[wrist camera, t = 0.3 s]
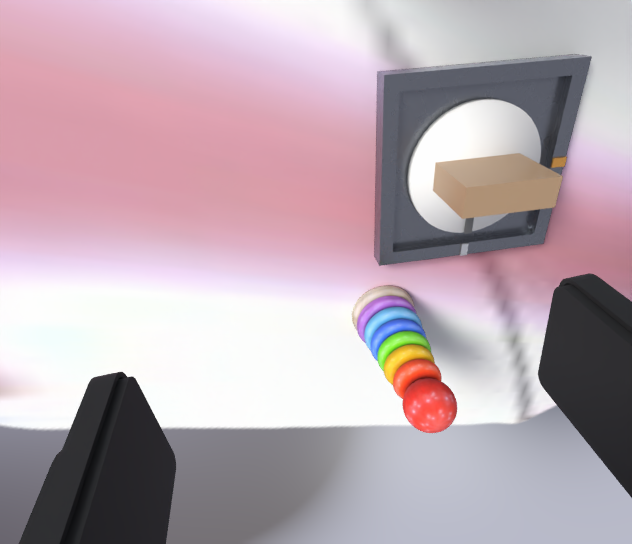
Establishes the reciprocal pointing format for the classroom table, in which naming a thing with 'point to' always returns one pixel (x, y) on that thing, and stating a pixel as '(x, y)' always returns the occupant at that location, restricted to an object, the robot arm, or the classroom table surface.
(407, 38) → the classroom table surface
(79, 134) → the classroom table surface
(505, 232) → the dial housing
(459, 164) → the dial
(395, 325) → the stacking toy
